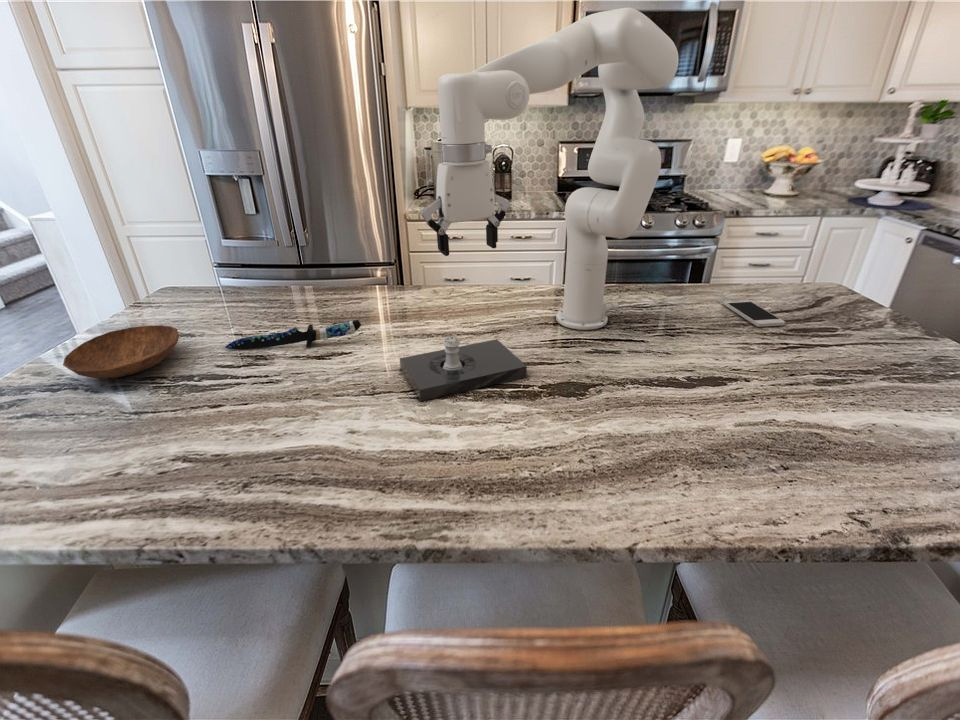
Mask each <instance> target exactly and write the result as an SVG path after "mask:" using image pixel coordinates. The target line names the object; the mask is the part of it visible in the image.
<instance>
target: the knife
mask: <svg viewBox="0 0 960 720" xmlns="http://www.w3.org/2000/svg"><path fill="white" fill-rule="evenodd" d="M361 326H362V323H361V322H360V319H354V320H349V321H345V322H343V323H339V324H335V325H330V326H327V327H324V328H319V329H314V325H313V324H308V327H307V329H306V331H301V330H298V328H297V327H296V326H295V327H293V328H291V329H289V330H286V331H282V332H277V333H271V334H262V335H253V336H252V335H251V336H246V337H245V336H244V337H241V338H237V339H235V340H233V341H231V342H229V343H228V344H227V345H226V346H225V349H228V350H237V351H238V350H239V351H240V350H254V349H265V348H273V347H279V346H285V345H292V344H297V343H302V342H306V348H310V347H311V345H312V343H313V342H317V341H321V340H326V339H327V340H328V339H332V338H337V337H343V336H348V335H349V336H350V335H354V334H355V333H356V332H358V330H359V329H360V328H361Z"/></svg>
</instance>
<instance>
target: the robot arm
mask: <svg viewBox="0 0 960 720" xmlns="http://www.w3.org/2000/svg"><path fill="white" fill-rule="evenodd" d="M596 67H597V74H598V80H599V82H600V85H601V88H602V92H603V96H604V101H605V114H604V117H603V120H602V124H601V127H600V129H599V132H598V135H597V137H596V139H595V143H594V144H593V145H594V146H593V149H592V151H591V154H590V158H589V160H588V165H587V174H588V176H589V178H590V179H591V180H592V181H593V182H596V183H598V184H602V185H608V186H613V187H619V189H618V190H614V189H613V190H612V189H607V188H599V187H591V186H587V187H580V188H577V189H576V190H574V191H573V192H571V194H570V195H569V196H568V198H567V200H566V202H565V206H564V220H565V227H566V228H565V229H566V256H565V257H566V259H565V274H564V286H563V287H564V289H563V305H562V309H561V310H559V311H558V312H557V313H556V315H555V320H556V322H557V323H558V324H559V325H561V326H563V327H565V328H569V329H572V330H579V331H590V330H591V331H592V330H597V329H601V328H603V327H605V326H606V325H607V324H608V320H609V318H608V315H607V313H608V312H609V311H616V310H618V309H619V307H620V306H619V303H618V302H617V301H613V302H608V300H604V298H605V296H604V295H605V288H606V278H607V277H606V276H607V267H608V258H609V247H608V242H607V241H608V240H607V239H606V237H608V238H612V239H619V240H621V239H627V238H629V237H631V236H632V235H633V234H634V233H635V232H636V230H637V229H638V228H639V226H640V224H641V222H642V219H643V217H644V216H645V212H646V210H647V207H648V205H649V202H650V200H651V197H652V194H653V192H654V190H655V187H656V185H657V182H658V179H659V176H660V173H661V169H662V154H661V151H660V148H659V147H658V145H657V144H656V143H654V142H653V141H650V140H647V139H639V138H640V135H641V133H642V129H643V127H644V124H645V111H644V110H645V109H644V106H643V103H642V101H641V97H640V96H639V93H638V90H658V89H660V88H664V87H666V86H667V85H668V84H670V83H671V82H672V80H673V79H674V78H675V76H676V74H677V72H678V69H679V68H678V67H679V52H678V49H677V46H676V44H675V42H674V41H673V39H671V37H670V36H669V35H667V33H665V31H663V30H662V29H661V27H659V26H658V25H657V24H656V23H655V22H654V21H653V20H652V19H651V18H650V17H648V16H646V15H645V14H644V13H643V12H641V11H639V10H638V9H635V8H633V7H621V8H616V9H609V10H604V11H599V12H594V13H591V14H588V15H586V16H584V17H582V18H580V19H578V20H577V21H575V22H572V23H571V24H568V25H567V26H566V27H563V28H561V29H559V30H558V31H555V32H554V33H552V34H551V35H548V36H547V37H544V38H543V39H540V40H537V41H535V42H533V43H530V44H528V45H526V46H523V47H521V48H519V49H517V50H514V51H512V52H509V53H508V54H505V55H503V56H500V57H497V58H494V59H493V60H490V61H489V62H487V63H486V64H483V65H482V66H480V67H478V68H476V69H474V70H473V71H471V72H451V73H443V74H442V75H441V76H440V77H439V78H438V81H437V96H438V97H437V98H438V109H439V110H438V111H439V112H438V113H439V125H440V139H441V140H440V141H441V155H442V162H440V163H438V164H437V170H436V171H437V172H436V186H435V187H436V189H435V191H436V192H435V193H436V194H435V195H436V196H435V197H436V198H435V200H434V201H432V202H431V203H429V204H428V205H426V206H425V207H423V208H422V209H421V210H420V215H421V216H422V218H423V220H424V222H425V223H426V225H427V226H429V227H430V229H432V230H433V231H434V232H435V233H436V240H437V243H436V244H437V249H438V251H439V252H440V253H441V254H442V255H443V256H445V257H449V256H450V244H449V243H450V242H449V234H447V230H448V229H449V228H450V226H451V224H456V223H463V222H465V223H466V222H471V221H479V220H485V221H486V222H487V224H486V226H485V238H486V240H485V242H486V246H488V247H490V248H492V249H496V248H497V243H498V242H499V231H498V229H499V227H500V226H501V222H502V221H503V220H504V219H505V217H506V215H507V212H508V209H509V207H510V205H511V201H510V200H509V199H507V198H504V197H503V196H500V195H498V194H496V193H495V191H494V190H495V189H494V181H493V176H492V175H493V174H492V170H491V165H490V162H489V160H487V155H488V154H492V153H493V146H492V145H491V144H488V143H487V142H486V134H485V133H486V132H485V120H496V121H497V120H498V121H499V120H500V121H504V120H505V121H506V120H511V119H514V118H517V117H518V116H520V115H521V114H522V113H523V112H524V111H525V109H526V108H527V106H528V105H529V101H530V95H534V94H540V93H545V92H546V93H547V92H550V91H553V90H557V89H560V88H562V87H564V86H566V85H567V84H569V83H571V82H572V81H574V80H576V79H577V78H579V77H580V76H582V75H584V74H585V73H587V72H590V71H591V70H593V69H594V68H596ZM496 203H497V204H498V205H499V207H498V209H497V210H495V209H496V208H495V207H496ZM495 211H496V212H495ZM435 212H436V214H437V217H438V218H439V219H438V221H435V220H434V218H433V216H432V214H433V213H435Z"/></svg>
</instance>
